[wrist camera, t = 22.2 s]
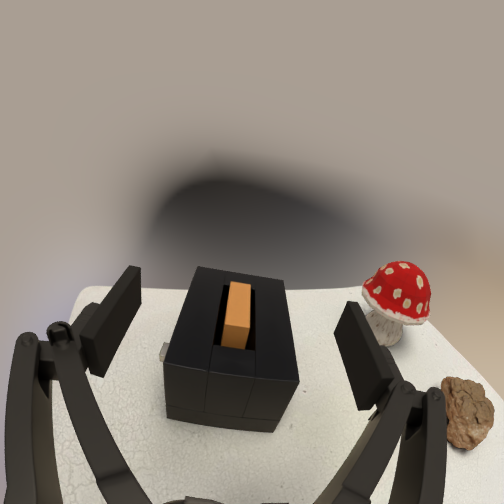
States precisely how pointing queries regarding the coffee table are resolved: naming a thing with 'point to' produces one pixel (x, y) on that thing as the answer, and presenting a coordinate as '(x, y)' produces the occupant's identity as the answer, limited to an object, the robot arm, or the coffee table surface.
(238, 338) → the toast
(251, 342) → the toaster
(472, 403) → the rock
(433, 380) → the coffee table surface
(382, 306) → the decorative mushroom
